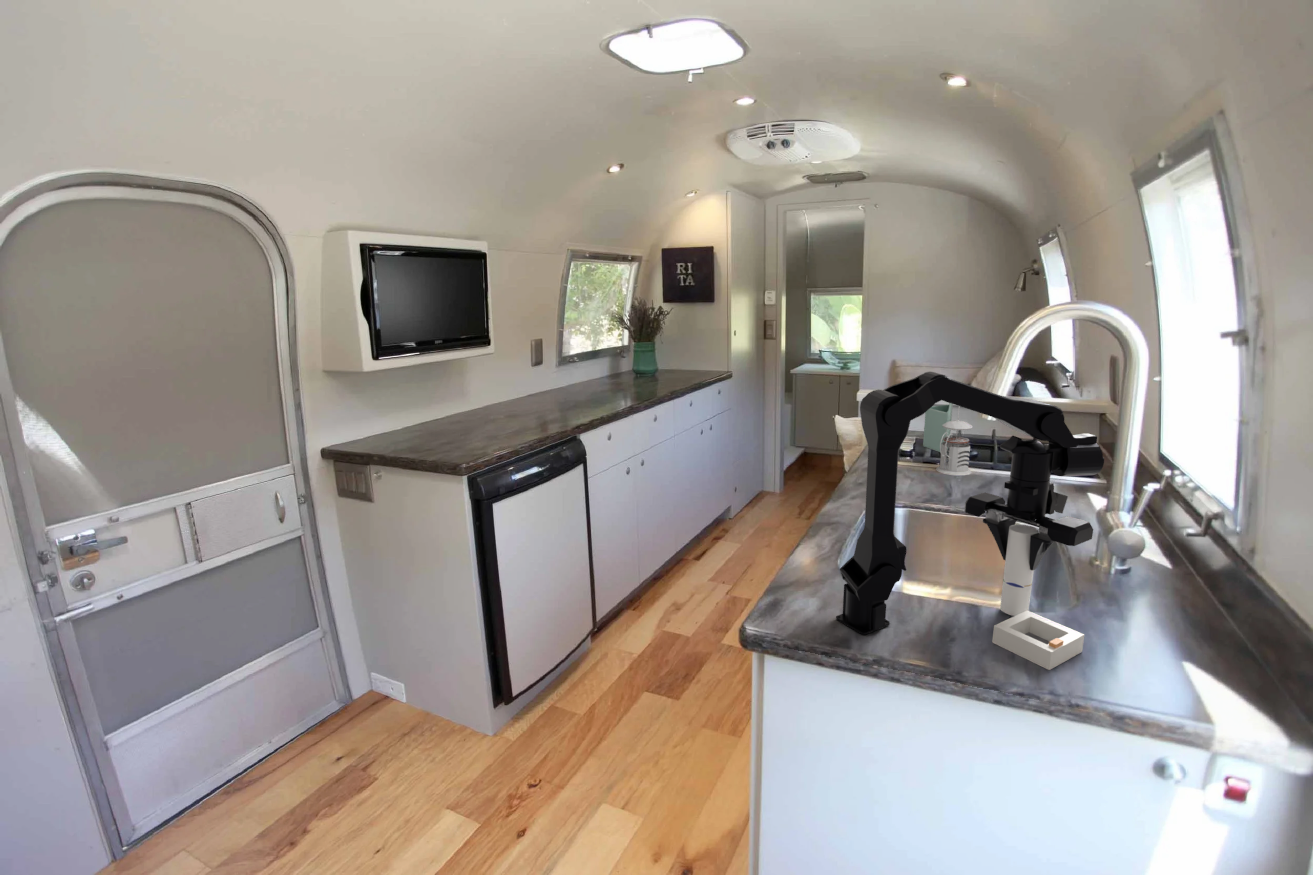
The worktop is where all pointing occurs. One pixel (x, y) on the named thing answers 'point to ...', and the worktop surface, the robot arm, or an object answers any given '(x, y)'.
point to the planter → (936, 426)
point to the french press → (955, 450)
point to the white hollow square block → (1038, 639)
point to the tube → (1017, 571)
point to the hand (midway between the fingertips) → (1019, 564)
